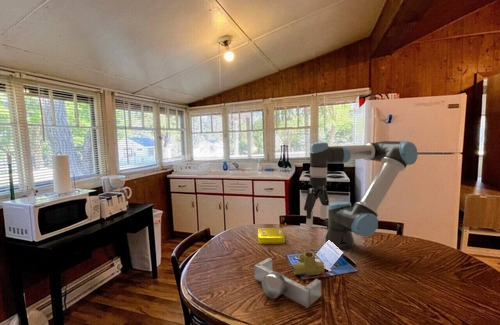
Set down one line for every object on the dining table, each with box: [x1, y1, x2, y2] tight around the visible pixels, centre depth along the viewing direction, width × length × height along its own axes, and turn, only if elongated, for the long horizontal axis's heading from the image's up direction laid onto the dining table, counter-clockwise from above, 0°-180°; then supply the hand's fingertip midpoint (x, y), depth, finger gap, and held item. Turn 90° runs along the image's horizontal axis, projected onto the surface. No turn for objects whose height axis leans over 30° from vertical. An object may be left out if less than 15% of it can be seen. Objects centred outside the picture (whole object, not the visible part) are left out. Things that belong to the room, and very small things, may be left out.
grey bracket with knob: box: [253, 257, 322, 309], centre depth 96 cm, size 14×26×8 cm, turn 43°
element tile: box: [257, 227, 286, 245], centre depth 146 cm, size 15×15×5 cm
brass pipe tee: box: [292, 250, 326, 276], centre depth 109 cm, size 13×10×10 cm
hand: (316, 222), depth 115 cm, fingers open, 13 cm apart
